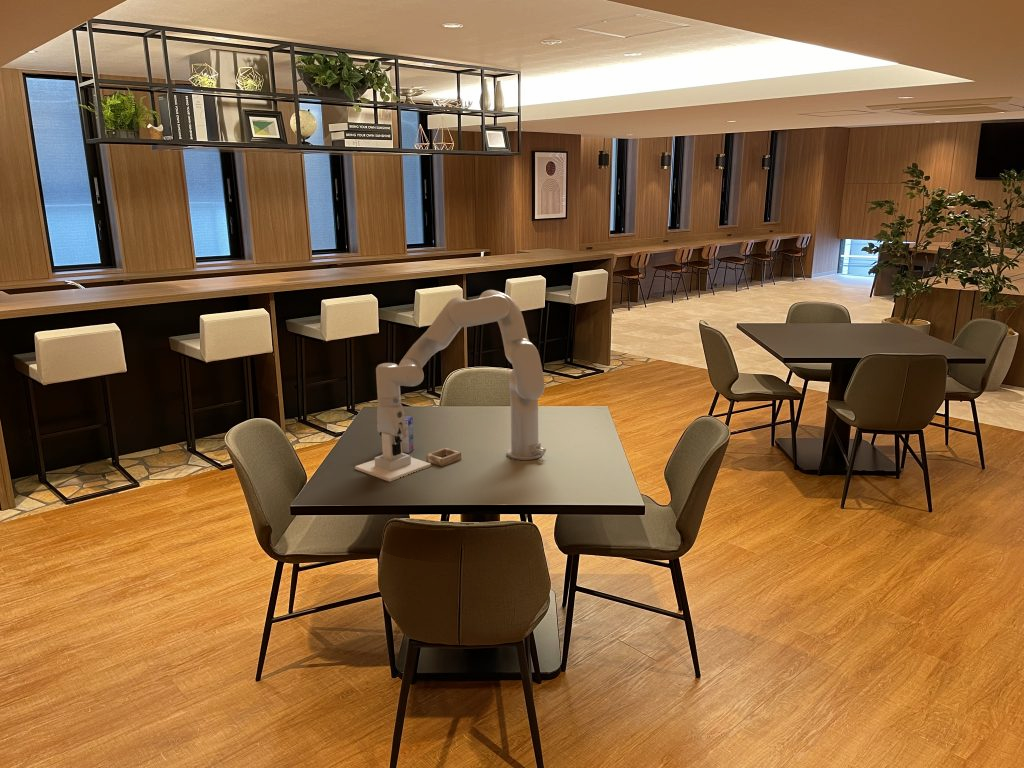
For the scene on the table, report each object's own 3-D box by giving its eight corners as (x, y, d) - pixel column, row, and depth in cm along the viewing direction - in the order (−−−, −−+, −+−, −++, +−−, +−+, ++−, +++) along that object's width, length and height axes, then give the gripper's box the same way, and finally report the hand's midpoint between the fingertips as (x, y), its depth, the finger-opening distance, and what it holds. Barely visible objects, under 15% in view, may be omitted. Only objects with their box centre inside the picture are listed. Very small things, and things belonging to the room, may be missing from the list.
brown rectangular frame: (461, 459, 268) (461, 452, 268) (442, 466, 262) (442, 459, 261) (445, 454, 274) (445, 447, 273) (426, 461, 267) (426, 454, 266)
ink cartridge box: (415, 448, 280) (413, 410, 277) (410, 453, 275) (408, 414, 271) (389, 447, 282) (387, 409, 279) (383, 452, 277) (381, 413, 273)
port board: (431, 466, 262) (430, 455, 261) (389, 481, 249) (388, 470, 248) (396, 454, 274) (395, 444, 273) (355, 469, 261) (354, 457, 260)
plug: (402, 459, 261) (400, 428, 258) (390, 463, 258) (388, 432, 255) (394, 457, 264) (392, 426, 261) (383, 461, 260) (381, 429, 257)
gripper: (414, 402, 253) (417, 455, 257) (382, 394, 264) (385, 445, 268) (397, 407, 247) (400, 461, 252) (364, 398, 258) (367, 450, 263)
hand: (392, 452), depth 260 cm, fingers closed on plug, 4 cm apart
